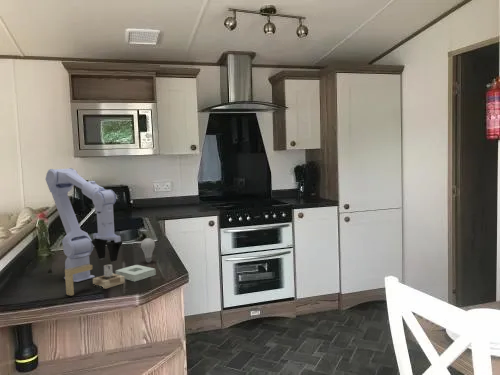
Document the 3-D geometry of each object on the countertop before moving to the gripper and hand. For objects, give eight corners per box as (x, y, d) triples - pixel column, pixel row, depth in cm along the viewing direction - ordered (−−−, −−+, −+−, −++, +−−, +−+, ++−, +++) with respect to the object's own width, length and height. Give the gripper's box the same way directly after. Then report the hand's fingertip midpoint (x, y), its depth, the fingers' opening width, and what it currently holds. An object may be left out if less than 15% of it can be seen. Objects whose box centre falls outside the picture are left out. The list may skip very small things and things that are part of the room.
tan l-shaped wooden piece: (66, 294, 135) (64, 269, 134) (89, 287, 141) (87, 263, 141) (70, 295, 133) (69, 270, 132) (93, 288, 140) (92, 264, 139)
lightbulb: (141, 265, 172) (140, 240, 171) (141, 261, 178) (140, 237, 177) (156, 263, 174) (155, 239, 173) (155, 260, 180) (154, 236, 179)
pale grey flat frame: (115, 276, 155) (115, 270, 155) (136, 270, 163) (136, 264, 163) (134, 281, 148) (134, 275, 148) (155, 275, 156) (155, 268, 156)
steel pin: (102, 284, 146) (101, 265, 145) (110, 282, 148) (109, 263, 148) (107, 285, 144) (106, 266, 144) (114, 283, 146) (113, 265, 146)
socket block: (93, 285, 145) (92, 278, 145) (112, 279, 152) (111, 273, 152) (105, 288, 141) (105, 281, 140) (124, 282, 147) (124, 276, 147)
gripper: (84, 223, 146) (86, 259, 147) (107, 226, 137) (109, 264, 138) (101, 220, 151) (103, 255, 152) (124, 223, 143) (126, 260, 144)
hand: (107, 259), depth 146 cm, fingers open, 7 cm apart
